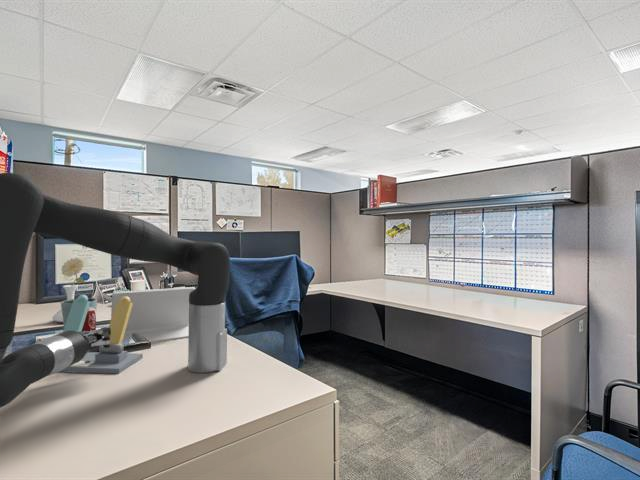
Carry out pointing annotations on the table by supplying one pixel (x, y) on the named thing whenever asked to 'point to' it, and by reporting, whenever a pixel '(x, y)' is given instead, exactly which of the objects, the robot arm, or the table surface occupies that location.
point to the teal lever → (77, 314)
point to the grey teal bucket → (68, 303)
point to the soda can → (90, 320)
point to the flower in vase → (70, 269)
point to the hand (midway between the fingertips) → (107, 331)
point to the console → (104, 362)
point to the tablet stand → (157, 313)
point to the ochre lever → (118, 325)
